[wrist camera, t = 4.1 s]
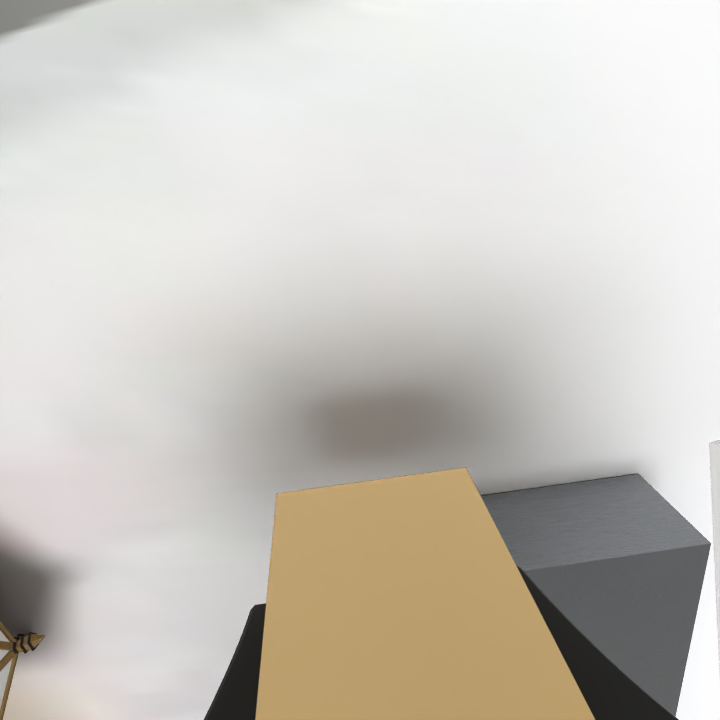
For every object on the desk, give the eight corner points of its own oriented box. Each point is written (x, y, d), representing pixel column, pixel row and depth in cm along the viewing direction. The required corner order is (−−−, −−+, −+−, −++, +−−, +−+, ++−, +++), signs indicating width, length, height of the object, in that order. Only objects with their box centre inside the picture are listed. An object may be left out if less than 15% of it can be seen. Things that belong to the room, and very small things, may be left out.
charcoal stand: (615, 650, 24) (670, 739, 21) (407, 683, 24) (426, 780, 20) (638, 473, 21) (710, 543, 17) (392, 508, 20) (411, 587, 16)
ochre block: (469, 607, 14) (577, 909, 8) (302, 633, 14) (300, 961, 8) (466, 467, 12) (599, 727, 7) (276, 493, 12) (249, 786, 6)
